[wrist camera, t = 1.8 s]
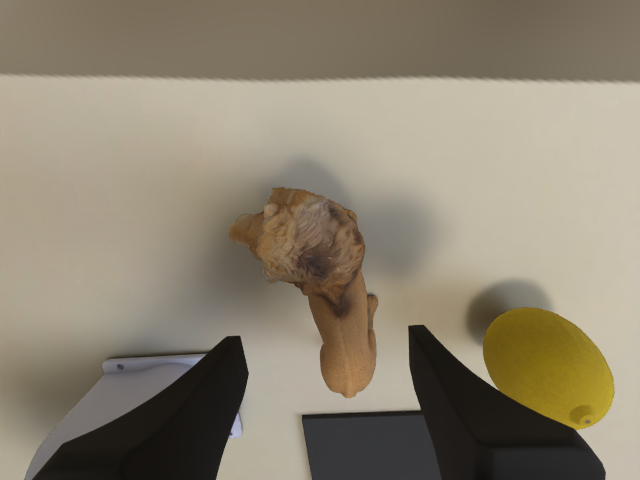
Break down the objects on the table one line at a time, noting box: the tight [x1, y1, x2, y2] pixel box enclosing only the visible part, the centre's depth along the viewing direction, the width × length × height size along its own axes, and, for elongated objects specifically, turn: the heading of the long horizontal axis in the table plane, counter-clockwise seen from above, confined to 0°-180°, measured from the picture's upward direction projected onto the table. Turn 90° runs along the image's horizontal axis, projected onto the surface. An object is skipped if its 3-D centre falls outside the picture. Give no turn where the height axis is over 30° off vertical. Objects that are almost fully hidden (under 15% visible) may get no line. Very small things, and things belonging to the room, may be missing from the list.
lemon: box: [483, 308, 614, 430], centre depth 19 cm, size 6×6×8 cm
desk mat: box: [302, 411, 442, 480], centre depth 28 cm, size 20×13×1 cm, turn 97°
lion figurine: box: [229, 187, 378, 398], centre depth 18 cm, size 15×5×9 cm, turn 22°
